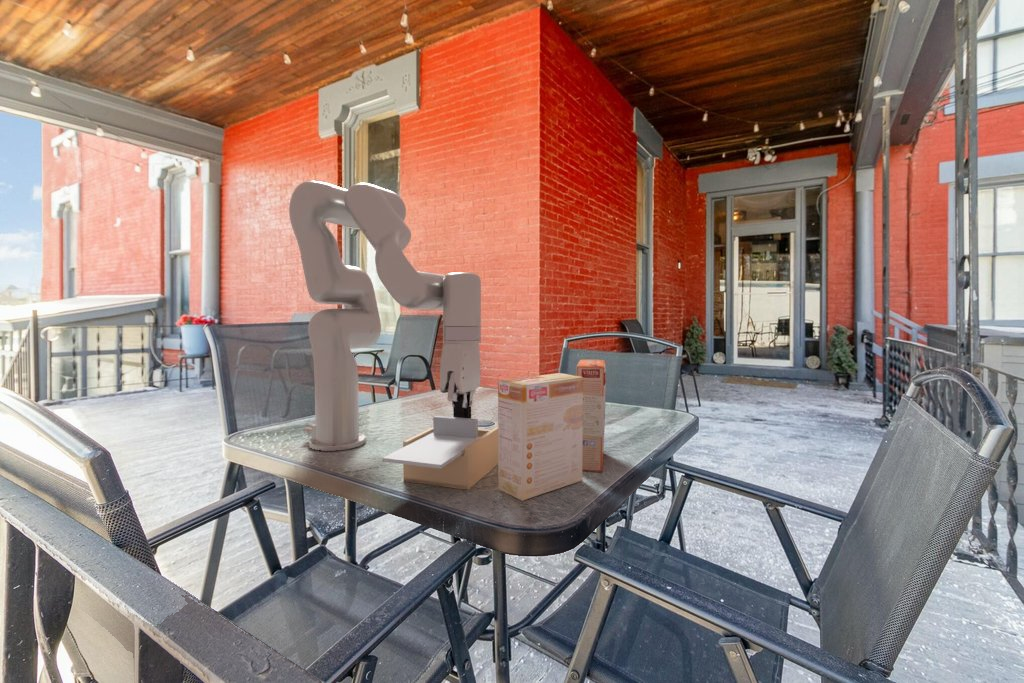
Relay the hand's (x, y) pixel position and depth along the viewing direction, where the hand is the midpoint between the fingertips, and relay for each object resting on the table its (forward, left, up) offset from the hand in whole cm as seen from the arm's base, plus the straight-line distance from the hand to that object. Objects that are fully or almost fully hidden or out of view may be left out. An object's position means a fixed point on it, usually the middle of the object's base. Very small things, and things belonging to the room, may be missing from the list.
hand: (462, 426), depth 94 cm
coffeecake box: (+18, -5, -8) cm, 20 cm away
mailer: (0, -3, -8) cm, 9 cm away
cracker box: (+24, +11, -8) cm, 28 cm away
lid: (0, -11, -2) cm, 11 cm away
